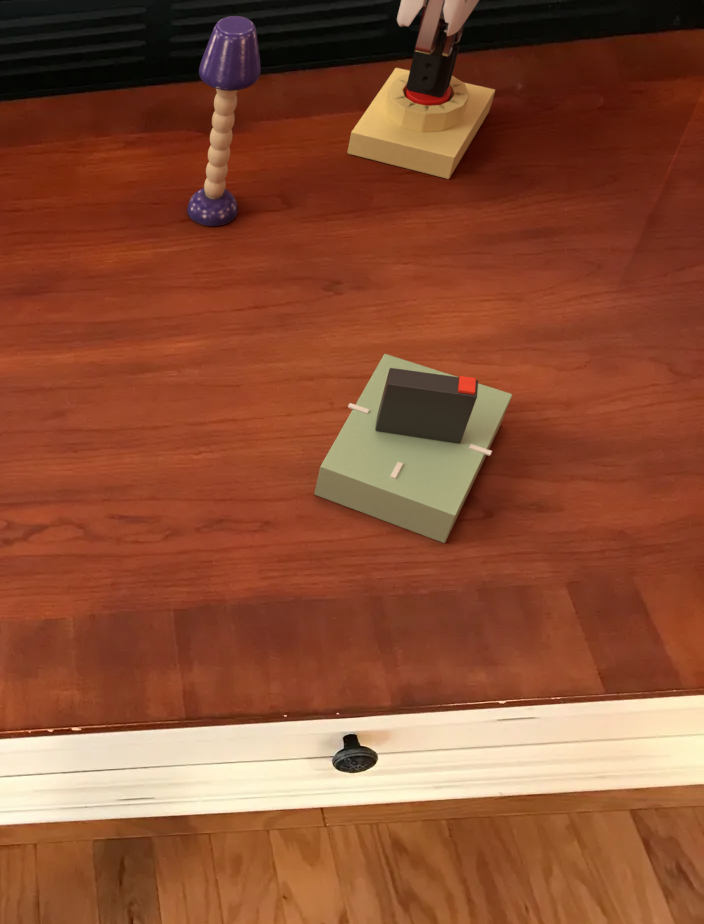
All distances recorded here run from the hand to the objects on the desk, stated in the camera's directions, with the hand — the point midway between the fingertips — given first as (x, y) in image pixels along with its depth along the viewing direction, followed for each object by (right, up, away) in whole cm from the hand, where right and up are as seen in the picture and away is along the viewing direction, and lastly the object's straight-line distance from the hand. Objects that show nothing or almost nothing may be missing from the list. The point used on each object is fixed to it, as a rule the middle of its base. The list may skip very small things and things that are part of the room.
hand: (427, 89), depth 99 cm
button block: (+1, -3, +3) cm, 4 cm away
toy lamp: (-18, -11, -1) cm, 21 cm away
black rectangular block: (-9, -31, -21) cm, 39 cm away
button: (0, -1, +1) cm, 2 cm away
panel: (-9, -33, -19) cm, 39 cm away
